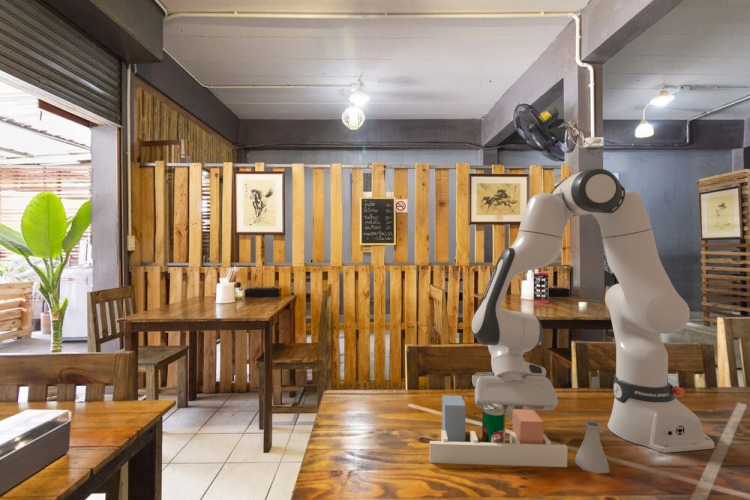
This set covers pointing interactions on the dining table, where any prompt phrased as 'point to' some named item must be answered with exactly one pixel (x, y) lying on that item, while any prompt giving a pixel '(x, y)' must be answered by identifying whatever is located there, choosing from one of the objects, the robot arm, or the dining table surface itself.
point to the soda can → (493, 423)
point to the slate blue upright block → (453, 417)
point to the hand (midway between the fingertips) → (520, 426)
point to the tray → (498, 452)
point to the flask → (592, 450)
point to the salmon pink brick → (527, 426)
